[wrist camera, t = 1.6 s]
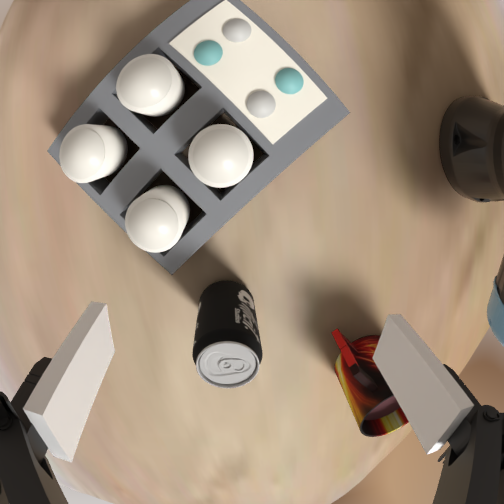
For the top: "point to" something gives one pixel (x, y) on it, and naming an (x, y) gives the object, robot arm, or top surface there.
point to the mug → (367, 387)
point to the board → (212, 114)
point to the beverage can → (227, 336)
